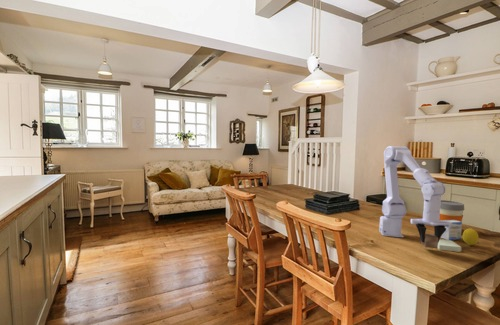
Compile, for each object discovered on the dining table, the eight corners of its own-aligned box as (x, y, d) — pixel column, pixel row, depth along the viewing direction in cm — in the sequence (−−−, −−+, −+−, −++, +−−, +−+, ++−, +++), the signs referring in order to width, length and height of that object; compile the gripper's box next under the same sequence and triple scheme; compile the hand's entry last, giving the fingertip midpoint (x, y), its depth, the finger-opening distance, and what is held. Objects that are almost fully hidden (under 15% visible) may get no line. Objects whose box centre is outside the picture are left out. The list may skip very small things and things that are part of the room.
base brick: (439, 250, 110) (439, 245, 110) (430, 243, 118) (431, 238, 118) (460, 252, 108) (461, 247, 108) (450, 245, 116) (451, 240, 116)
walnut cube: (425, 247, 107) (425, 236, 107) (420, 243, 111) (421, 233, 111) (437, 248, 106) (438, 237, 106) (432, 244, 110) (433, 234, 110)
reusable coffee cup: (434, 231, 134) (436, 203, 133) (431, 225, 145) (432, 199, 144) (465, 236, 128) (467, 206, 127) (459, 229, 139) (461, 201, 138)
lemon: (461, 242, 119) (463, 225, 119) (477, 245, 116) (478, 228, 115) (461, 245, 115) (463, 228, 115) (478, 249, 112) (479, 231, 111)
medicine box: (448, 240, 121) (450, 222, 120) (439, 237, 125) (440, 220, 125) (461, 239, 123) (462, 221, 122) (451, 236, 127) (452, 219, 127)
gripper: (415, 211, 105) (413, 243, 106) (456, 214, 102) (453, 247, 103) (409, 207, 112) (407, 237, 113) (447, 210, 109) (445, 241, 110)
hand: (429, 242), depth 109 cm, fingers closed on walnut cube, 4 cm apart
